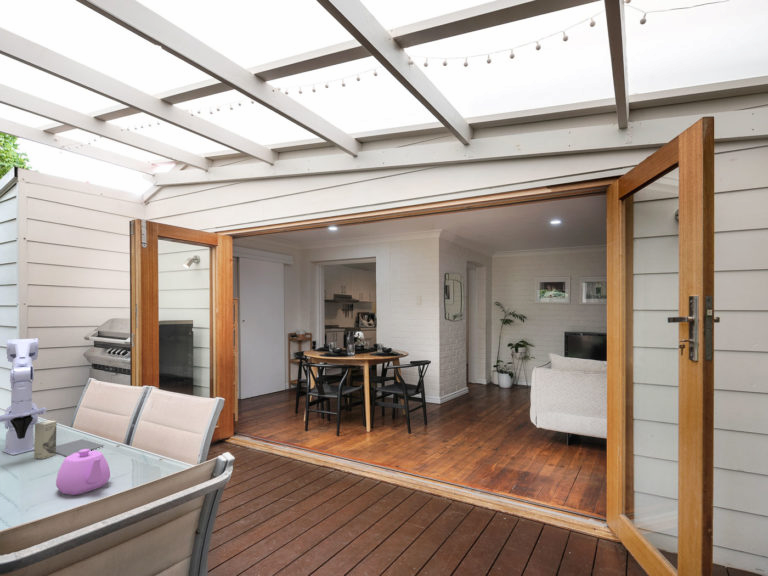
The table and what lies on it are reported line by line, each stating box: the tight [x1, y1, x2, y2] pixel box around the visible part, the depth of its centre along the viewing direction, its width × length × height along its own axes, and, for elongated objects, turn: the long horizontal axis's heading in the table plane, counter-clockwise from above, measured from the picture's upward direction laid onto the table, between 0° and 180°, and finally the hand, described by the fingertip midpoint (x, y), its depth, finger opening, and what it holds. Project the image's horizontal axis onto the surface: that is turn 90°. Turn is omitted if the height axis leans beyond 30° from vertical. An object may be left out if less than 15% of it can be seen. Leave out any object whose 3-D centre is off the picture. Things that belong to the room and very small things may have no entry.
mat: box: [56, 438, 105, 458], centre depth 168 cm, size 17×13×1 cm
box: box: [33, 419, 58, 460], centre depth 159 cm, size 5×4×13 cm
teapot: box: [55, 449, 111, 496], centre depth 131 cm, size 20×13×12 cm, turn 56°
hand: (21, 438), depth 153 cm, fingers closed
